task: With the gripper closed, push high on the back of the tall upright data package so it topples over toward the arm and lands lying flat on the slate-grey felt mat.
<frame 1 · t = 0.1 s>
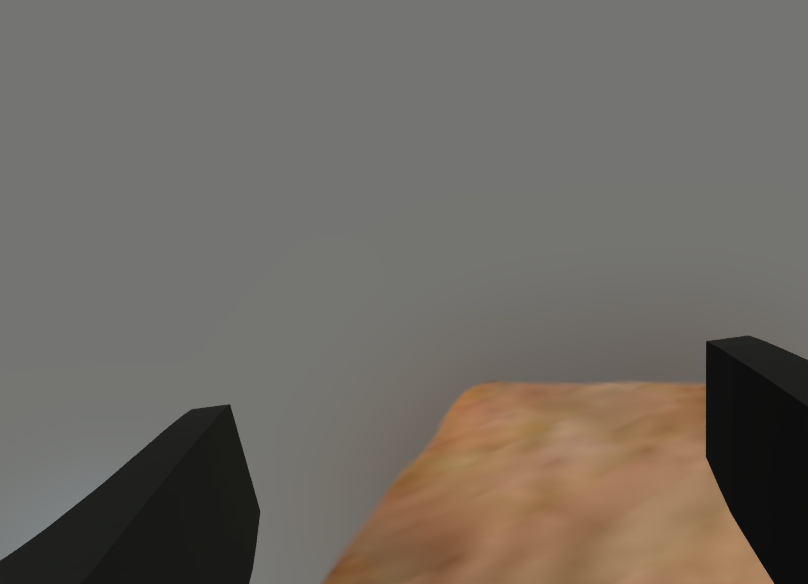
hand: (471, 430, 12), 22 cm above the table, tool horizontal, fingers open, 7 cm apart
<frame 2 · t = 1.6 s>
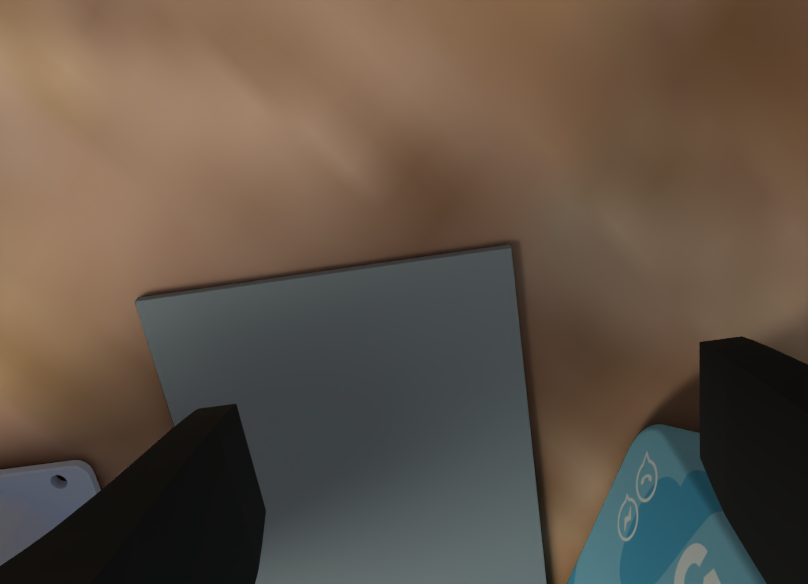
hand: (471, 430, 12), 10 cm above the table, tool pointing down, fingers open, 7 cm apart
data package: (638, 560, 26), on the table, touching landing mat
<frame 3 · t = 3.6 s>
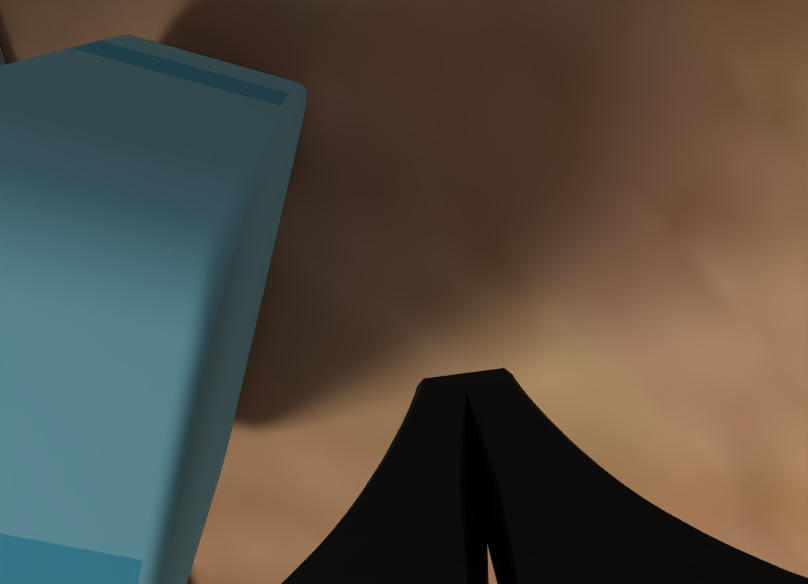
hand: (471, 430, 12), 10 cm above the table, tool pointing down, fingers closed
data package: (188, 263, 22), on the table, touching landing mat
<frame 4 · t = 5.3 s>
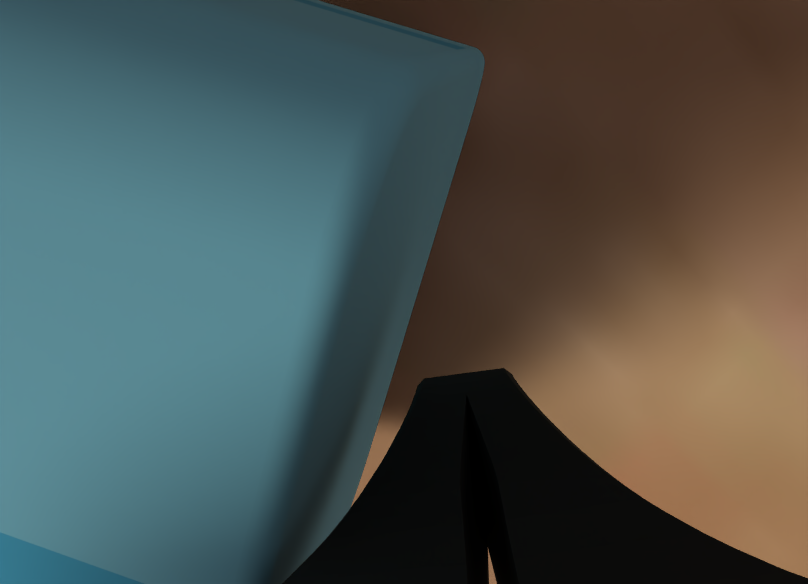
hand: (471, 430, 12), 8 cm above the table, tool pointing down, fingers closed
data package: (332, 266, 19), on the table, touching gripper, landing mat
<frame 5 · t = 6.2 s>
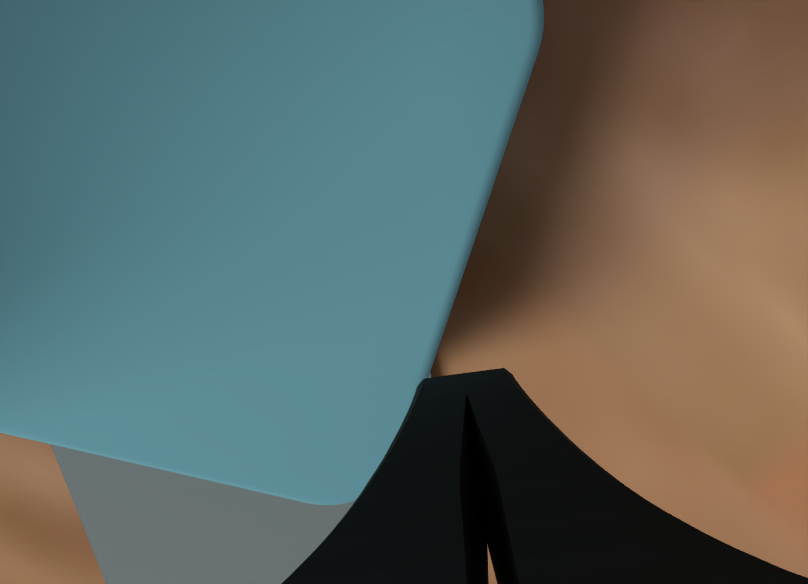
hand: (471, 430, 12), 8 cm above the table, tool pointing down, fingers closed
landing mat: (204, 279, 20), on the table
data package: (465, 244, 17), point 3 cm above the table, touching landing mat
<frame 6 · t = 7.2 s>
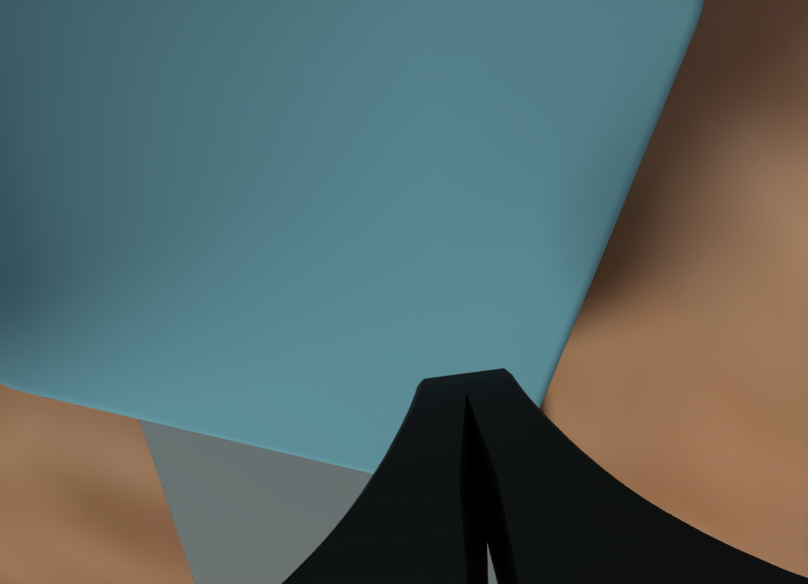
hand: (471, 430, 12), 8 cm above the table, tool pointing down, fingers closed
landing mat: (305, 264, 19), on the table
data package: (588, 226, 16), point 3 cm above the table, touching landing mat
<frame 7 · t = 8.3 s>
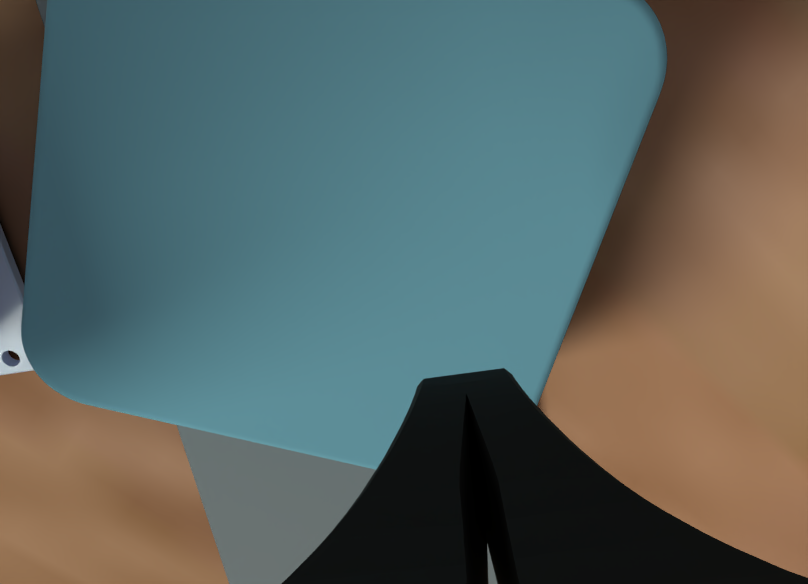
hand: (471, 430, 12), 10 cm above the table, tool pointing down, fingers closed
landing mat: (325, 286, 22), on the table
data package: (575, 254, 19), point 3 cm above the table, touching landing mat
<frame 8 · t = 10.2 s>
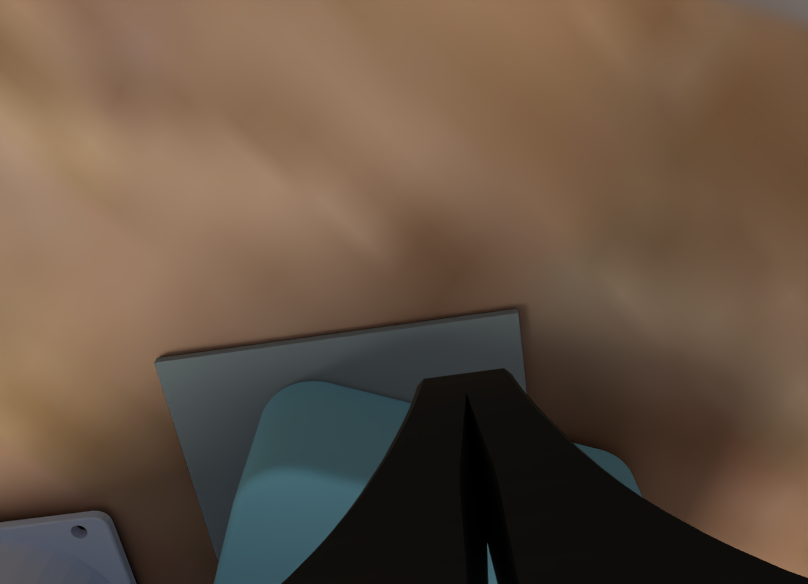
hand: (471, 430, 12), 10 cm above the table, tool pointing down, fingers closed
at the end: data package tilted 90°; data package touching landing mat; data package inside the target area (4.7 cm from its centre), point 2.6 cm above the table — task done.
